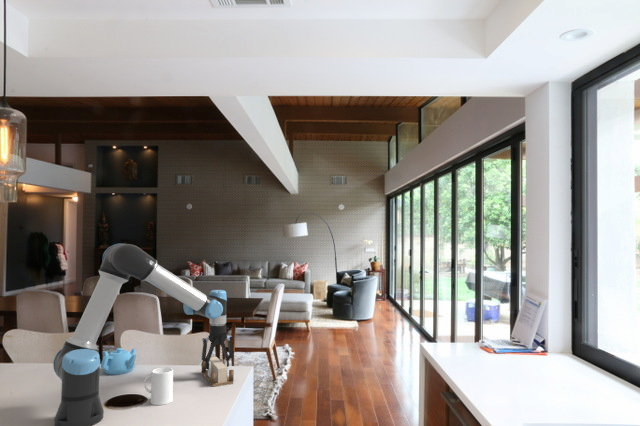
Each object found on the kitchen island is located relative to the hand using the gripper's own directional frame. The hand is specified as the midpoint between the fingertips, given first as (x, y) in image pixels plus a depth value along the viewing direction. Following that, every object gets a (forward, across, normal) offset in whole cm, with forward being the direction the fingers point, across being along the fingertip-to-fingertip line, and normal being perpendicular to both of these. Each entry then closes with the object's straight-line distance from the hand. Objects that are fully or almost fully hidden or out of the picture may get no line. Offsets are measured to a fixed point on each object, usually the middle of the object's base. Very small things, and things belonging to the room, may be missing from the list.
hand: (217, 375), depth 204 cm
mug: (+1, +28, +18) cm, 33 cm away
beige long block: (0, 0, 0) cm, 0 cm away
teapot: (+1, +40, -31) cm, 50 cm away
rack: (+1, 0, 0) cm, 1 cm away
